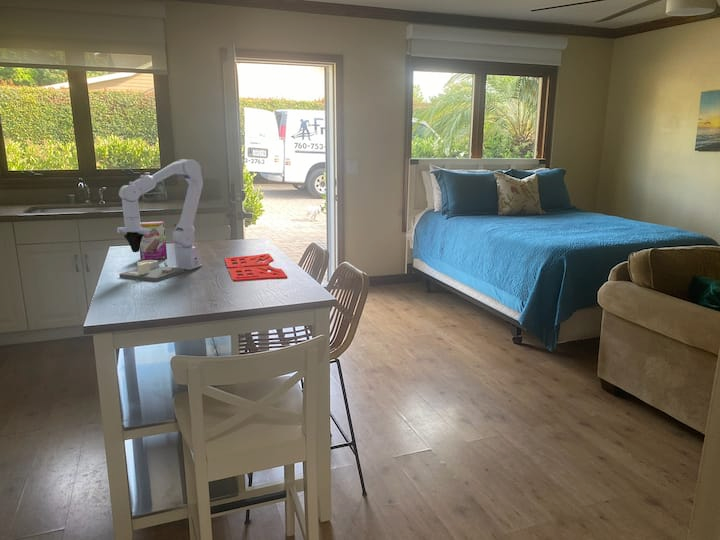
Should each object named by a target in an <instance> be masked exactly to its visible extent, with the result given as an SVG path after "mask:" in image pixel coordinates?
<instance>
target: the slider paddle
mask: <svg viewBox="0 0 720 540" xmlns="http://www.w3.org/2000/svg"><path fill="white" fill-rule="evenodd" d="M137 266H138V274H142V275H143V274H146V273H149V272H150V266H149V262H144V263H140V264H137V263H136V267H137Z"/></svg>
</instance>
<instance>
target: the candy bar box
mask: <svg viewBox="0 0 720 540" xmlns="http://www.w3.org/2000/svg"><path fill="white" fill-rule="evenodd" d="M140 222H141V221H140ZM141 228H146V229H150V234H147V235H145V234H144V236H143V237H142V240H141V243H140V248H139V255H140V256H139V257H140V261H141V260H142V261H145V260H153V259H156V260H161V258H162V257H165V258H166V259H165V260H168V253H167V252H168V251H167V239H166V230H165V221H143V222H141Z"/></svg>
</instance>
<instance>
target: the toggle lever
mask: <svg viewBox="0 0 720 540" xmlns="http://www.w3.org/2000/svg"><path fill="white" fill-rule="evenodd" d="M160 260H161V261H162V262H163V265H164V267H168V264H167V261H166V260H167V259H166V258H165V257H162V258H161V259H160Z"/></svg>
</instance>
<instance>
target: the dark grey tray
mask: <svg viewBox="0 0 720 540" xmlns="http://www.w3.org/2000/svg"><path fill="white" fill-rule="evenodd" d="M149 261H151V262H152V263H149V266H150V272H149V273H146V274H143V275H142V274H138V266H137V264H140V263H143V262H149ZM183 272H184V269H179V268H172V267H165V266H160V261H159V260H142V261H141V260H140V261H138V262H136V268H135V269H131V270H128V271H124V272H121V273H119V275H118V276H119V278H121V279H127V278H130V279H129V280H136V279H138V280H137V281H145V280H146V281H147V282H154V281H155V282H160V281H163V280H166V279H169V278H172V277H175V276H177V275H180V274H184V273H183Z"/></svg>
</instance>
